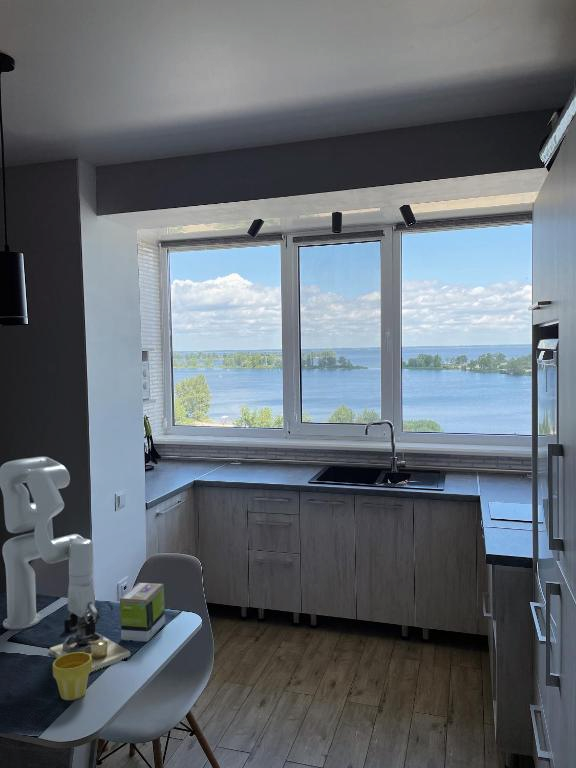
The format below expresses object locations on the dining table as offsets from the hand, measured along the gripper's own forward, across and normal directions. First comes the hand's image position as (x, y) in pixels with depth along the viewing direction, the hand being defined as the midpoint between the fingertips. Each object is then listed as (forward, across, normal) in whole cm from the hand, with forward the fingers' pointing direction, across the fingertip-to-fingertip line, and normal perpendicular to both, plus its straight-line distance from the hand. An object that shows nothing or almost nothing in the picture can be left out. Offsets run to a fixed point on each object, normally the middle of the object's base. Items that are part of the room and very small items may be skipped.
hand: (82, 629), depth 195 cm
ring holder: (+5, 0, 0) cm, 5 cm away
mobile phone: (+7, -18, +10) cm, 22 cm away
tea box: (+7, +3, +21) cm, 22 cm away
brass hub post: (+5, +10, 0) cm, 11 cm away
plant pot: (+7, +22, -15) cm, 28 cm away
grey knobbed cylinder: (+6, 0, 0) cm, 6 cm away
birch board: (+7, +4, 0) cm, 8 cm away
